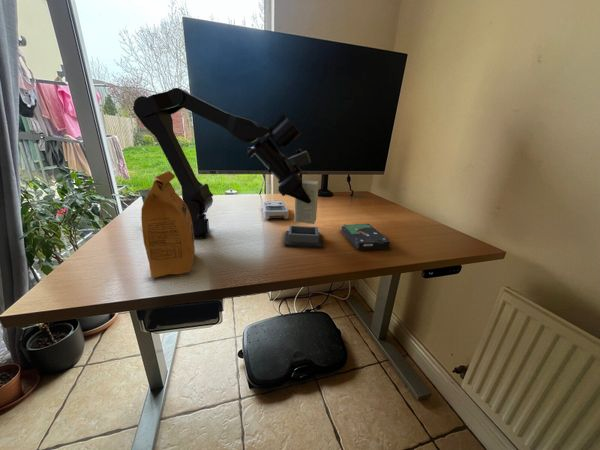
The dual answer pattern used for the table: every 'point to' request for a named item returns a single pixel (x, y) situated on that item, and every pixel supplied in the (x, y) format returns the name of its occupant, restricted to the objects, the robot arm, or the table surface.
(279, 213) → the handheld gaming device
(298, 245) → the dock pad
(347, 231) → the disk drive
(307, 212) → the cosmetic box
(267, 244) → the table surface
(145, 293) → the table surface
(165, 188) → the coffee package
